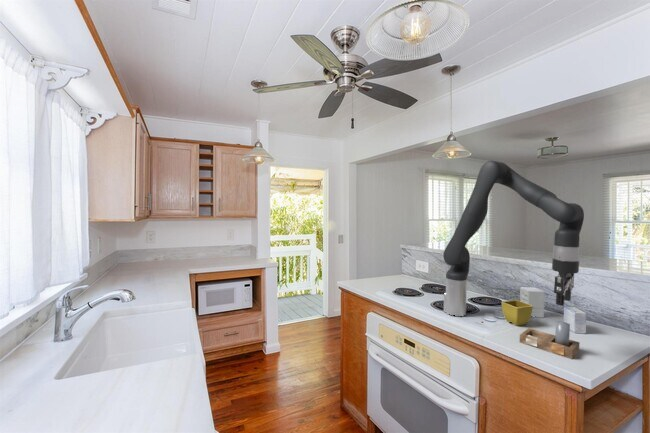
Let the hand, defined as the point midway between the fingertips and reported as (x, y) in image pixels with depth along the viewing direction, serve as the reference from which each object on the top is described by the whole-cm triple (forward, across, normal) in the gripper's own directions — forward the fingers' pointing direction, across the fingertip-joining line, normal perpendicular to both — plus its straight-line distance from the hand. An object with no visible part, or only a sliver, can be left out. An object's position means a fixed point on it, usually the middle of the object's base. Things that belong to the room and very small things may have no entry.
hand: (563, 302), depth 109 cm
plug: (+18, 0, 0) cm, 18 cm away
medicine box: (+18, -27, -2) cm, 32 cm away
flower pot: (+18, -15, -20) cm, 31 cm away
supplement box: (+18, -33, -19) cm, 42 cm away
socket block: (+18, 0, -4) cm, 18 cm away
